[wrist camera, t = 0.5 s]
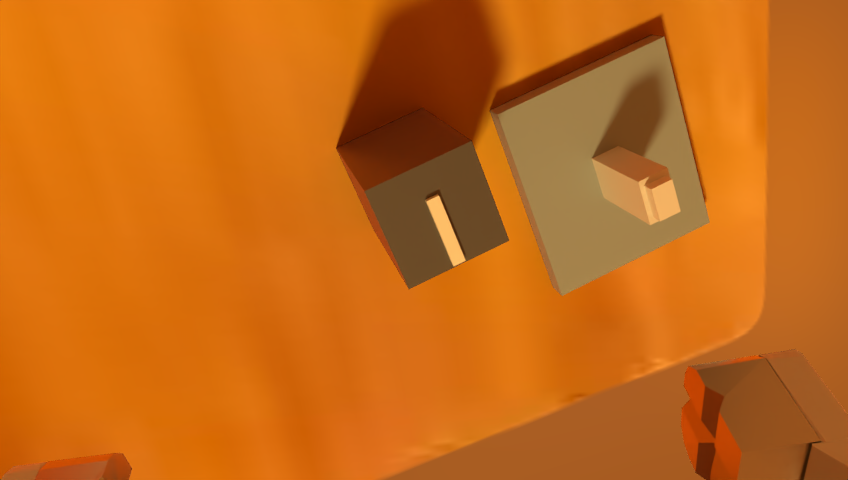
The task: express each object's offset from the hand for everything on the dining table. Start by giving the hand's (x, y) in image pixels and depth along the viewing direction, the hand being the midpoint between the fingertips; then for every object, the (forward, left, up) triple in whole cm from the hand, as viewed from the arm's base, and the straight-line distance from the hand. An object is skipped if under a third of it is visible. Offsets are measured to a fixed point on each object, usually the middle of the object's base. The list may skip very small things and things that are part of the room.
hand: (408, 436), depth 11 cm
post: (+14, +18, -36) cm, 43 cm away
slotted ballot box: (+8, +5, -36) cm, 38 cm away
